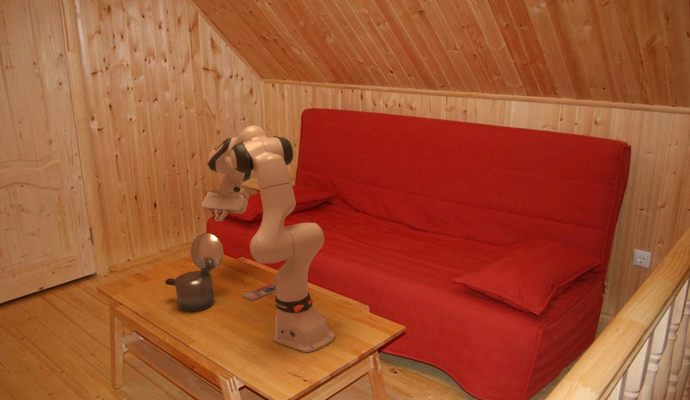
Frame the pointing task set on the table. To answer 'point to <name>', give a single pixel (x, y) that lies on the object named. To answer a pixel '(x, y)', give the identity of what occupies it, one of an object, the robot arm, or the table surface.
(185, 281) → the cooker pot
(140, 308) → the table surface
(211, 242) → the lid
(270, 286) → the smartphone
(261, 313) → the table surface
